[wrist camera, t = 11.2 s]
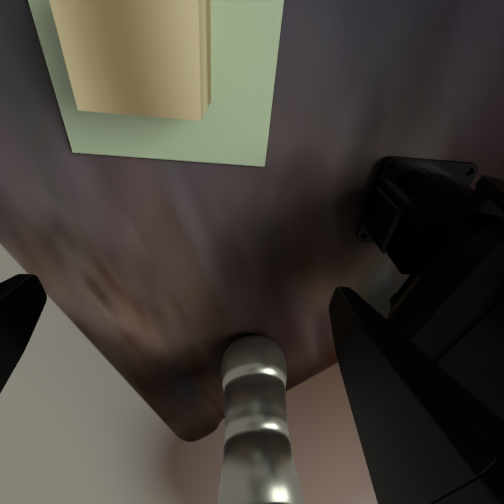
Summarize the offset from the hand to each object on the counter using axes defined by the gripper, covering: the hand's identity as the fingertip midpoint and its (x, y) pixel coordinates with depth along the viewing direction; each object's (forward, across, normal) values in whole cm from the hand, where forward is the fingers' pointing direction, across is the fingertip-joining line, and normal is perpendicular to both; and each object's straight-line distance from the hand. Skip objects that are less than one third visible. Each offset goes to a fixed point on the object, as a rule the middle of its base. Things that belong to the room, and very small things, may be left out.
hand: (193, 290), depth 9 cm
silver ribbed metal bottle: (+12, -4, +20) cm, 24 cm away
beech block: (+12, +3, -6) cm, 13 cm away
